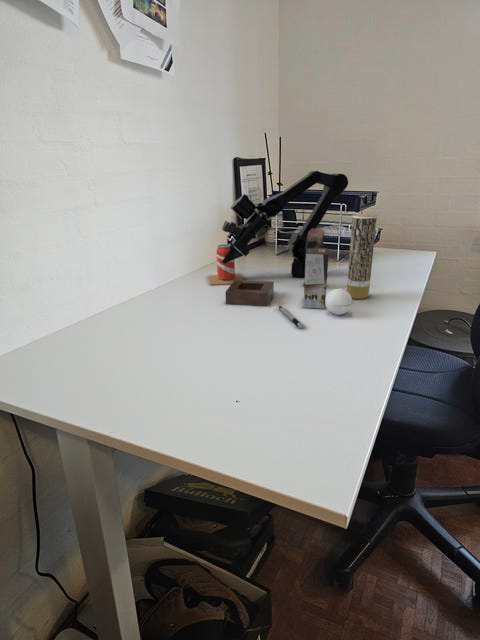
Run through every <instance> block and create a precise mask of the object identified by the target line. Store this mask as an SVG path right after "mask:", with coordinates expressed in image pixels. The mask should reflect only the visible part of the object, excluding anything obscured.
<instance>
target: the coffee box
mask: <svg viewBox="0 0 480 640" xmlns="http://www.w3.org/2000/svg"><path fill="white" fill-rule="evenodd" d="M329 255H330V254H329V248H328V247H323V248H307V251H306V261H305V277H304V282H305V284H304V283H303V285H304V286H303V306H302V307H303V308H306V309H323V310H324V309H325V308H326V305H325V299H326V296H327V284H328V270H329Z"/></svg>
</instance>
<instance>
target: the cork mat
mask: <svg viewBox="0 0 480 640" xmlns="http://www.w3.org/2000/svg"><path fill="white" fill-rule="evenodd" d="M208 280H209V283H210V286H224V285H231V284H232V283H233V282H234V280H244V279H243V277H242V276H241V273H235V277H233V278H232V279H230V280H222V279H220V278H219V277H218V274H214V275H208Z"/></svg>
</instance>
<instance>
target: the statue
mask: <svg viewBox="0 0 480 640" xmlns="http://www.w3.org/2000/svg"><path fill="white" fill-rule="evenodd" d="M324 237H325V231H324V229H323V228H321V227H317V228H315V229H311V230H310V231H309V232H308V236H307V241H306V247H305V248H306V251H307V248H324ZM304 284H305V281H304V282H303V285H302V286H303V287H304Z"/></svg>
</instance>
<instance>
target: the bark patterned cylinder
mask: <svg viewBox="0 0 480 640" xmlns="http://www.w3.org/2000/svg"><path fill="white" fill-rule="evenodd" d="M377 218H378V217H377V214H374V213H373V214H371V213H356V214H352V219H351V231H350V242H349V243H350V244H349V255H348V258H349V259H348V269H347V279H346V280H347V282H346V291H347V292H348V293H349V294H350V295H351V298H352V299H354V300H364V299H367V298H368V297H369V294H370V286H371V276H372V265H373V258H374V248H375V237H376V228H377Z"/></svg>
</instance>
